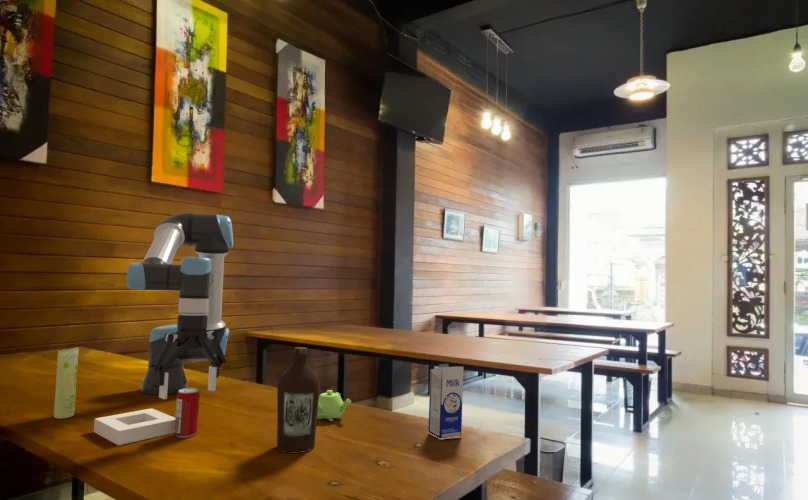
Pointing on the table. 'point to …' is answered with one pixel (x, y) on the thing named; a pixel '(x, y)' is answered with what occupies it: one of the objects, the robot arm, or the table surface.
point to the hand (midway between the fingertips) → (188, 394)
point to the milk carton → (446, 401)
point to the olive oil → (297, 405)
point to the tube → (66, 383)
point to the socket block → (134, 426)
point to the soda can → (187, 412)
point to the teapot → (331, 405)
